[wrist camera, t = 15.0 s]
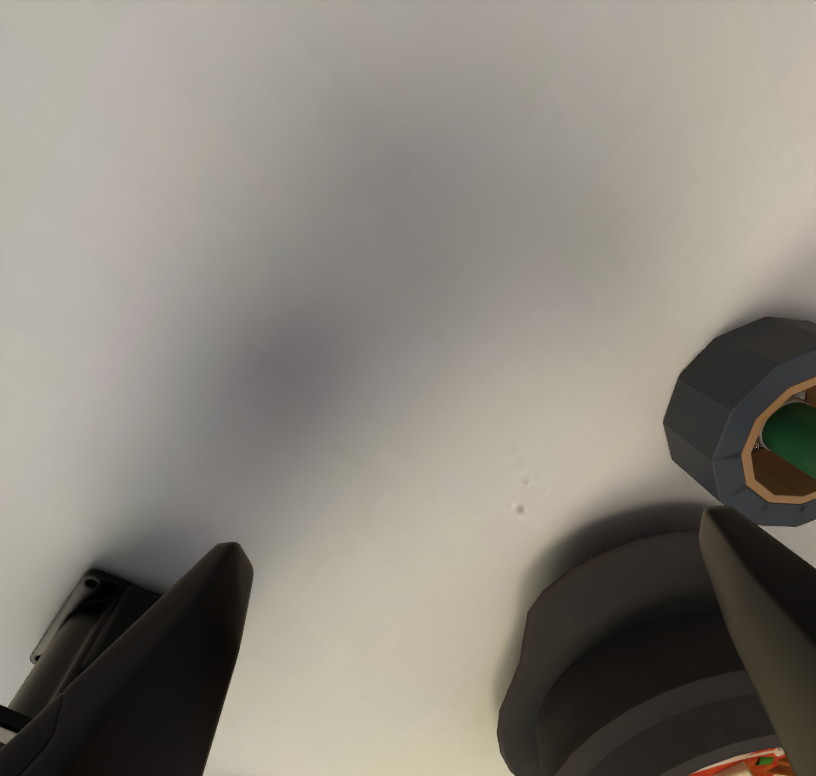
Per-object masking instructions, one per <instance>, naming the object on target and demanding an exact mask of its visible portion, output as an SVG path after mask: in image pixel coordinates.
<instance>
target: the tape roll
mask: <svg viewBox="0 0 816 776" xmlns="http://www.w3.org/2000/svg"><path fill="white" fill-rule="evenodd" d="M806 389H807V398H806V400H805V402H807V403H809V404H810V405H811V406H813V407H815V408H816V323H814V322H810V321H801V320H792V319H782V318H773V317H766V318H762V319H760V320H758V321H755V322H753V323H751V324H748V325H746V326H743V327H741V328H739V329H736V330H734V331H732V332H729V333H727V334H724V335H722V336H720V337H718V338H716V339H714V341H713V342H712V343H711V344H710V345H709V346H708V347H707V348H706V349H705V350H704V351H703V352H702V353H701V354H700V355H699V356H698V357H697V358H696V359H695V360H694V361H693V362H692V364H691V365H690V366H689V367H688V368H687V369H686V370H685V371H684V372H683V373H682V374H681V375H680V376H679V378H678V381H677V384H676V387H675V390H674V393H673V395H672V398H671V401H670V404H669V407H668V410H667V413H666V416H665V419H664V422H663V423H664V427H665V432H666V436H667V440H668V444H669V449H670V453H671V457H672V460H673V461H674V462H675V463H676V464H678V465H679V466H680V467H681V468H682V469H683V470H684V471H685V472H687V473H688V474H689V475H690V476H691V477H692V478H693V479H695V480H696V481H697V482H698V483H699V484H700V485H701V486H703V487H704V488H705V489H706V490H707V491H708V492H709V493H711V494H712V495H713V496H714V497H715V498H716V499H717V500H719V501H720V502H721V503H722V504H724V505H725V506H731V507H733V508H735V509H736V510H737V511H739V512H740V513H741V514H743V515H744V516H745V517H747V518H748V519H749V520H751V521H752V522H753V523H755V524H756V525H762V526H788V527H797V526H800V525H803V524H805V523H808V522H810V521H813V520H815V519H816V480H815V479H814V478H812V477H811V476H809V475H808V474H806V473H805V472H803V471H801V470H800V469H798V468H797V467H795V466H794V465H792V464H791V463H789V462H788V461H786V460H785V459H783V458H781V457H780V456H778V455H777V454H775V453H774V452H772V451H769V450H767V449H765V448H762V449H760V450H757V451H755V452H752V449H753V447H754V445H755V442H756V440H757V438H758V435H759V433H760V431H761V428H762V426H763V424H764V422H765V421H766V420H767V419H768V418H769V417H770V416H771V415H772V414H773V413H774V412H775V411H776V410H777V409H778V408H779V407H780V406H781V405H782V404H783V403H784V402H786V401H787V400H788V399H789V398H790V397H791V396H792V395H793V394H796V393H798V392H801V391H803V390H806ZM751 452H752V453H751Z"/></svg>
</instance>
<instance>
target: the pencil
mask: <svg viewBox="0 0 816 776" xmlns="http://www.w3.org/2000/svg"><path fill="white" fill-rule="evenodd" d="M756 443H758V444H759V445H761V446H762V447H764V448H765V449H767V450H769V451H772V452H774V453H775V454H777V455H778V456H780V457H781V458H783V459H785V460H786V461H788V462H789V463H791V464H792V465H794V466H795V467H797V468H798V469H800V470H801V471H803V472H805V473H806V474H808V475H809V476H811V477H812V478H814V479H815V480H816V408H815V407H813V406H811V405H810V404H809V403H807V402H805V401H803V400H801V399H799V398H797V397H795V396H793V395H792V396H791V397H790V398H789V399H788V400H787V401H786V402H784V403H783V404H782V405H781V406H780V407H779V408H778V409H777V410H776V411H775V412H774V413H773V414H772V415H771V416H770V417H769V418H768V419H767V420H766V421H765V422H764V424H763V426H762V428H761V431H760V433H759V435H758V438H757V440H756Z"/></svg>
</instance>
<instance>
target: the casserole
mask: <svg viewBox="0 0 816 776" xmlns="http://www.w3.org/2000/svg"><path fill="white" fill-rule="evenodd" d="M699 532H700V529H697V530H682V531H672V532H668V533H663V534H659V535H654V536H650V537H645V538H641V539H636V540H634V541H631V542H628V543H626V544H623V545H621V546H618V547H615V548H613V549H610V550H608V551H605V552H602V553H600V554H598V555H596V556H594V557H593V558H591V559H589V560H587V561H585V562H583V563H582V564H580V565H578V566H576V567H574V568H573V569H571V570H569V571H567V572H566V573H565V574H563V575H562V576H561V577H560V578H558V579H557V580H556V581H554V582H553V583H552V584H551V585H549V586H548V587H547V588H546V589H544V590H543V591H542V593H541V594H540V596H539V597H538V598H537V600H536V601H535V603H534V604H533V605H532V607H531V608H530V610H529V611H528V614H527V620H526V626H525V632H524V638H523V643H522V649H521V655H520V661H519V664H518V667H517V669H516V672H515V674H514V677H513V679H512V681H511V684H510V686H509V689H508V691H507V693H506V696H505V698H504V701H503V703H502V706H501V708H500V711H499V719H498V727H497V737H498V742H499V748H500V753H501V755H502V757H503V759H504V761H505V763H506V764H507V766H508V768H509V770H510V771H511V772H512V773H513V774H514V775H515V776H795V774H794V771H793V769H792V767H791V765H790V763H789V761H788V759H787V757H786V754H785V752H784V750H783V748H782V746H781V744H780V742H779V740H778V737H777V735H776V733H775V731H774V729H773V727H772V725H771V723H770V720H769V718H768V716H767V714H766V712H765V710H764V708H763V706H762V703H761V701H760V699H759V697H758V695H757V693H756V691H755V689H754V686H753V684H752V682H751V680H750V678H749V676H748V674H747V672H746V669H745V667H744V665H743V663H742V661H741V659H740V657H739V655H738V652H737V650H736V648H735V646H734V644H733V641H732V639H731V637H730V634H729V632H728V629H727V626H726V624H725V621H724V618H723V615H722V612H721V609H720V606H719V603H718V600H717V597H716V594H715V592H714V589H713V586H712V583H711V580H710V577H709V574H708V571H707V568H706V565H705V562H704V559H703V556H702V554H701V550H700V546H699Z"/></svg>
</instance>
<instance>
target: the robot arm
mask: <svg viewBox="0 0 816 776" xmlns="http://www.w3.org/2000/svg"><path fill="white" fill-rule="evenodd" d="M699 546H700V550H701V554H702V556H703V559H704V562H705V565H706V568H707V571H708V574H709V577H710V580H711V583H712V586H713V589H714V592H715V594H716V597H717V600H718V603H719V606H720V609H721V612H722V615H723V618H724V621H725V624H726V626H727V629H728V632H729V634H730V637H731V639H732V641H733V644H734V646H735V648H736V650H737V652H738V655H739V657H740V659H741V661H742V663H743V665H744V667H745V669H746V672H747V674H748V676H749V678H750V680H751V682H752V684H753V686H754V689H755V691H756V693H757V695H758V697H759V699H760V701H761V703H762V706H763V708H764V710H765V712H766V714H767V716H768V718H769V720H770V723H771V725H772V727H773V729H774V731H775V733H776V735H777V737H778V740H779V742H780V744H781V746H782V748H783V750H784V752H785V754H786V757H787V759H788V761H789V763H790V765H791V767H792V769H793V771H794V774H795V776H816V569H815V568H814V567H813V566H811V565H810V564H809V563H807V562H806V561H805V560H803V559H802V558H801V557H799V556H798V555H796V554H795V553H794V552H792V551H791V550H790V549H788V548H787V547H786V546H784V545H783V544H782V543H780V542H779V541H778V540H776V539H775V538H774V537H772V536H771V535H770V534H768V533H767V532H766V531H764V530H763V529H762V528H760V527H759V526H758V525H756V524H755V523H753V522H752V521H751V520H749V519H748V518H747V517H745V516H744V515H743V514H741V513H740V512H739V511H737V510H736V509H735V508H733V507H731V506H713V507H706V508H705V509H704V510H703V513H702V520H701V526H700V532H699ZM91 579H93V580H95V581H92V580H91ZM252 582H253V567H252V565H251V563H250V561H249V559H248V557H247V556H246V554H245V552H244V551H243V549H242V547H241V545H240V544H239V543H237V542H226V543H219V544H217V545H216V546H214V547H213V548H212V549H211V550H210V551H209V552H208V553H207V554H206V555H205V556H204V557H203V558H202V559H201V560H200V561H199V562H198V563H197V564H196V565H194V566H193V567H192V568H191V569H190V570H189V571H188V572H187V573H186V574H185V575H184V576H183V577H182V578H181V579H180V580H179V581H178V582H177V583H176V584H175V585H174V586H172V587H171V588H170V589H169V590H168V591H167V592H166V593H165V594H164V595H163V596H161V595H159V594H156V593H154V592H152V591H149V590H147V589H145V588H142V587H140V586H137V585H135V584H133V583H130V582H128V581H126V580H123V579H121V578H118V577H116V576H114V575H111V574H109V573H106V572H104V571H102V570H99V569H89V570H87V571H86V572H85V573H84V575H83V576H82V578H81V579H80V581H79V582H78V584H77V585H76V587H75V588H74V590H73V591H72V593H71V594H70V596H69V597H68V599H67V600H66V602H65V603H64V605H63V606H62V608H61V610H60V611H59V613H58V614H57V616H56V617H55V619H54V620H53V622H52V623H51V625H50V626H49V628H48V629H47V631H46V632H45V634H44V636H43V637H42V639H41V640H40V642H39V643H38V645H37V646H36V648H35V649H34V651H33V652H32V654H31V655H30V661H31V662H32V663H33V664H35V666H34V667H33V669H32V670H31V672H30V674H29V675H28V677H27V678H26V680H25V681H24V683H23V684H22V686H21V687H20V689H19V690H18V692H17V693H16V695H15V697H14V698H13V700H12V701H11V703H10V704H9V706H8V707H4V706H2V705H0V776H203V773H204V769H205V766H206V762H207V759H208V756H209V752H210V749H211V745H212V742H213V739H214V735H215V732H216V728H217V725H218V722H219V718H220V715H221V711H222V708H223V705H224V701H225V698H226V694H227V691H228V688H229V684H230V681H231V677H232V674H233V671H234V667H235V664H236V660H237V656H238V653H239V649H240V644H241V640H242V635H243V630H244V624H245V619H246V614H247V608H248V603H249V598H250V593H251V587H252Z"/></svg>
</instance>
